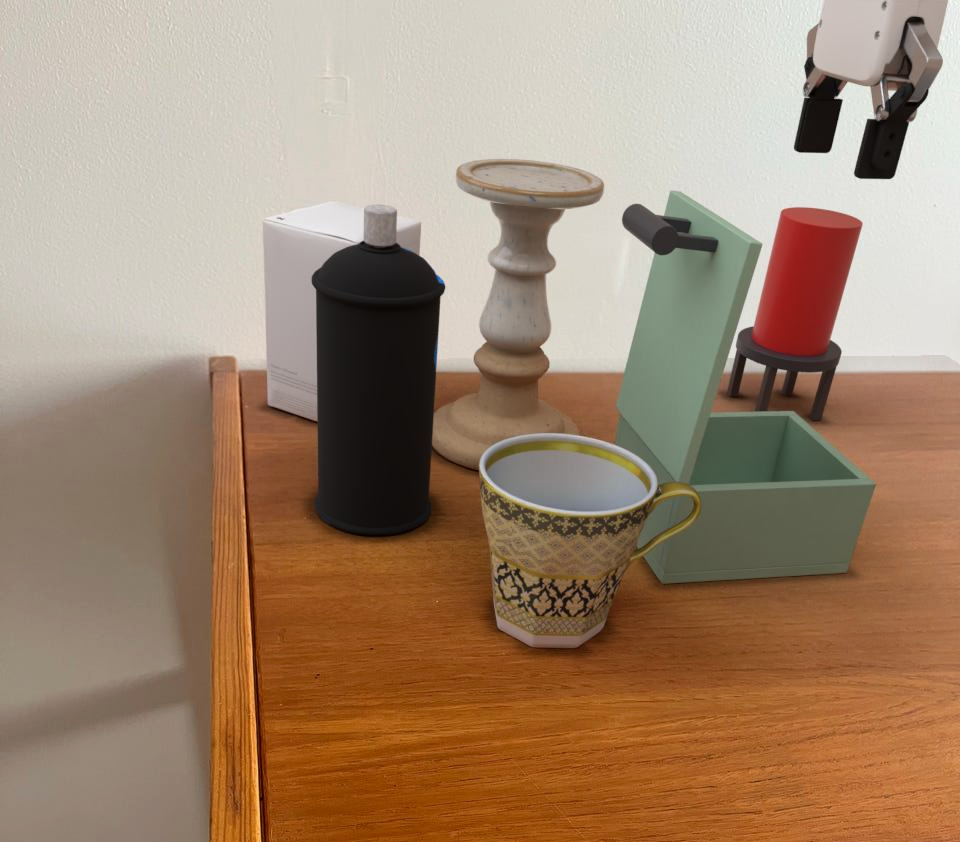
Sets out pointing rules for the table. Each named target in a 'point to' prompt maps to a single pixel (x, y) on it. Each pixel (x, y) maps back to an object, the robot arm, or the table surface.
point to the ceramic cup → (565, 531)
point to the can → (805, 280)
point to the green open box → (757, 502)
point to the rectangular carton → (306, 292)
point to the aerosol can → (376, 381)
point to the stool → (784, 362)
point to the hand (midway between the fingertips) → (841, 164)
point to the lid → (683, 325)
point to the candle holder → (513, 306)
